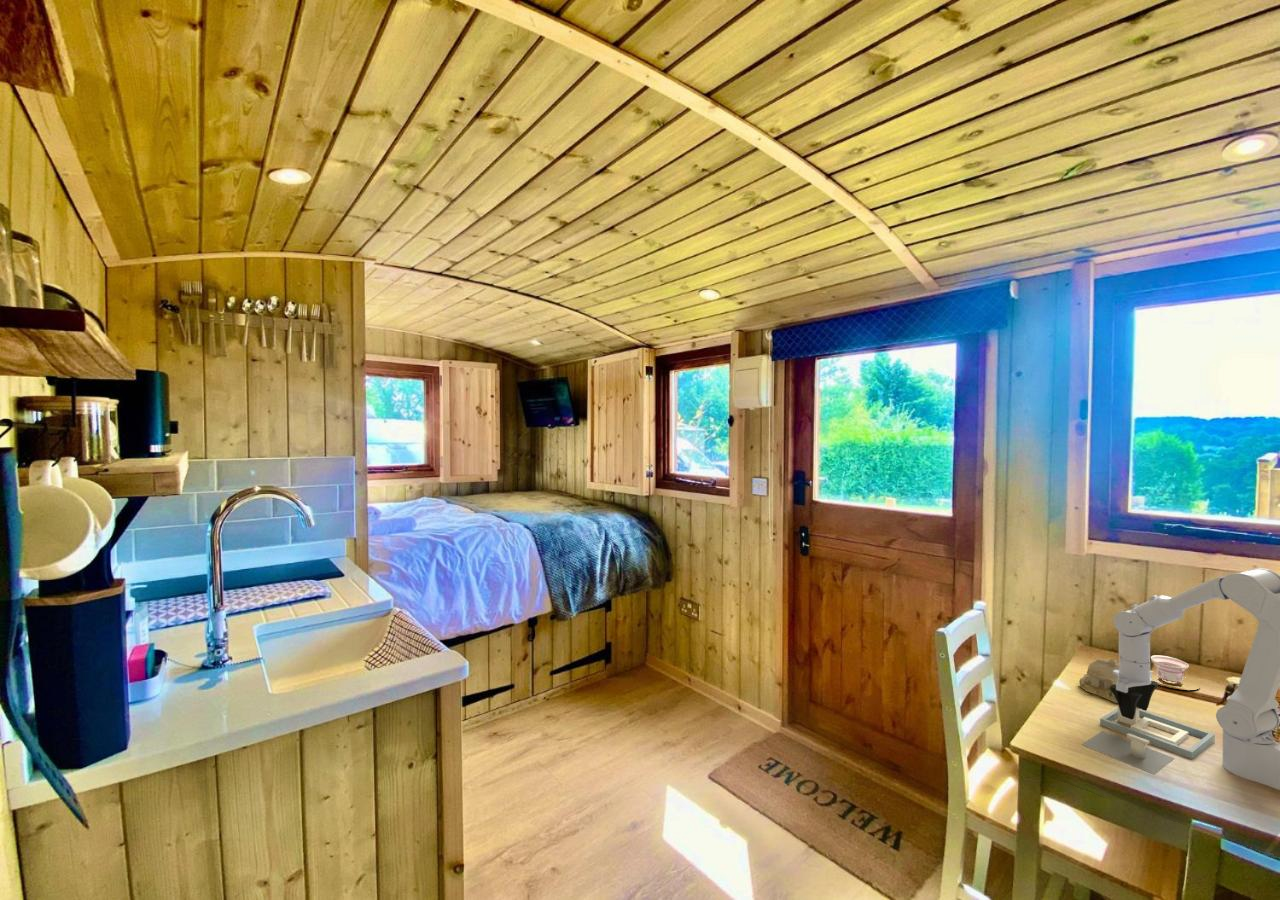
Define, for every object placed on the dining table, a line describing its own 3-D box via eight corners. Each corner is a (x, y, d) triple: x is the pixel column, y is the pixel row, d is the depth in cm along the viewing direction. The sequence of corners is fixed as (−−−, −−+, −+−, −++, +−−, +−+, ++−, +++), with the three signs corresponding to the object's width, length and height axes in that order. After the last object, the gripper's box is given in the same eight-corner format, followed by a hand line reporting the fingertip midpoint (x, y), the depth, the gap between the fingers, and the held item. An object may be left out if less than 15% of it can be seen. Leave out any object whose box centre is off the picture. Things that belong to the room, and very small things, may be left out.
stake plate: (1174, 762, 120) (1174, 740, 120) (1154, 779, 115) (1154, 755, 115) (1102, 734, 131) (1102, 714, 131) (1080, 748, 126) (1080, 727, 126)
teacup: (1131, 672, 163) (1131, 652, 163) (1176, 673, 162) (1176, 653, 161) (1163, 691, 152) (1163, 669, 151) (1212, 693, 150) (1212, 671, 149)
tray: (1214, 744, 126) (1214, 734, 126) (1192, 763, 119) (1192, 752, 119) (1124, 713, 141) (1124, 703, 140) (1100, 728, 134) (1100, 718, 134)
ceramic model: (1151, 698, 148) (1151, 662, 147) (1138, 711, 142) (1138, 673, 141) (1087, 680, 159) (1087, 646, 159) (1073, 691, 153) (1072, 656, 153)
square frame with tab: (1188, 738, 128) (1188, 719, 128) (1174, 748, 124) (1175, 729, 124) (1126, 716, 138) (1126, 699, 138) (1112, 725, 134) (1112, 707, 134)
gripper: (1126, 646, 140) (1126, 698, 140) (1100, 659, 133) (1100, 713, 133) (1162, 656, 134) (1162, 710, 134) (1137, 670, 127) (1137, 727, 127)
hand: (1134, 713), depth 133 cm, fingers open, 7 cm apart
